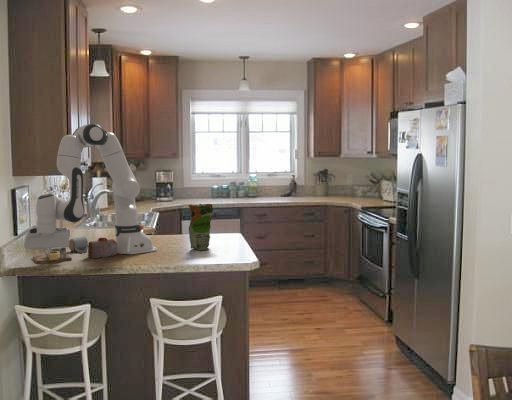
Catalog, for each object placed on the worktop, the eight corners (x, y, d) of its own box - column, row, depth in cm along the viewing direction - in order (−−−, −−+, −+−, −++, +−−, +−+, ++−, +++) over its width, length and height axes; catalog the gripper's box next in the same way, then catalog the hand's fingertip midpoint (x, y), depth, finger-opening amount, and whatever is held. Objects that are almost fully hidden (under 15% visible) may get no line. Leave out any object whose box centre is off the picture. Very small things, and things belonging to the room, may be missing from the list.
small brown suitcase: (112, 253, 288) (111, 235, 287) (119, 256, 282) (118, 236, 281) (86, 257, 279) (86, 237, 278) (93, 259, 273) (92, 239, 272)
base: (66, 255, 284) (65, 242, 283) (71, 260, 271) (71, 247, 271) (32, 258, 276) (32, 245, 276) (36, 263, 264) (36, 250, 263)
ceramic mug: (67, 251, 295) (67, 236, 294) (82, 249, 301) (82, 235, 300) (76, 254, 288) (76, 239, 287) (91, 252, 293) (91, 237, 292)
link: (46, 255, 276) (45, 246, 275) (56, 254, 278) (55, 246, 278) (48, 260, 264) (48, 251, 263) (59, 259, 266) (58, 250, 266)
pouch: (214, 248, 302) (213, 202, 300) (206, 252, 291) (206, 204, 289) (195, 247, 305) (194, 201, 303) (186, 251, 294) (186, 204, 292)
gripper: (69, 226, 270) (70, 254, 271) (24, 228, 263) (24, 257, 264) (70, 228, 264) (70, 257, 265) (23, 230, 257) (24, 259, 258)
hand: (47, 257), depth 265 cm, fingers closed
